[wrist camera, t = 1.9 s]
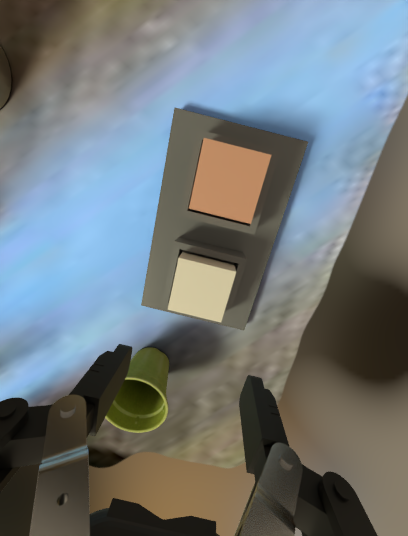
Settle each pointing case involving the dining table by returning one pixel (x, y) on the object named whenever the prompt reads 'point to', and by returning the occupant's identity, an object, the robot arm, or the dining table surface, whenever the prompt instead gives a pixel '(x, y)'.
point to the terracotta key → (228, 180)
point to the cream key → (201, 287)
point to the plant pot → (142, 393)
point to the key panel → (212, 226)
